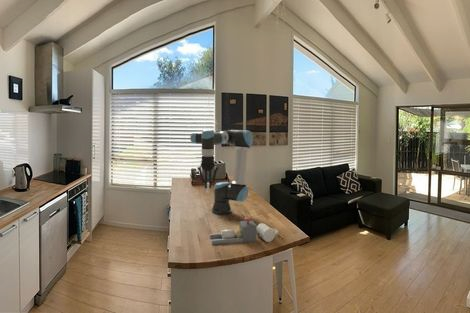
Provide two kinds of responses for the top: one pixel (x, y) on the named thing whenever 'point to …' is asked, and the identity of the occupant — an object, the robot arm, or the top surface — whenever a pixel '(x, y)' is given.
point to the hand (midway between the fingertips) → (207, 193)
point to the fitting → (227, 234)
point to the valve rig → (238, 233)
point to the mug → (266, 232)
